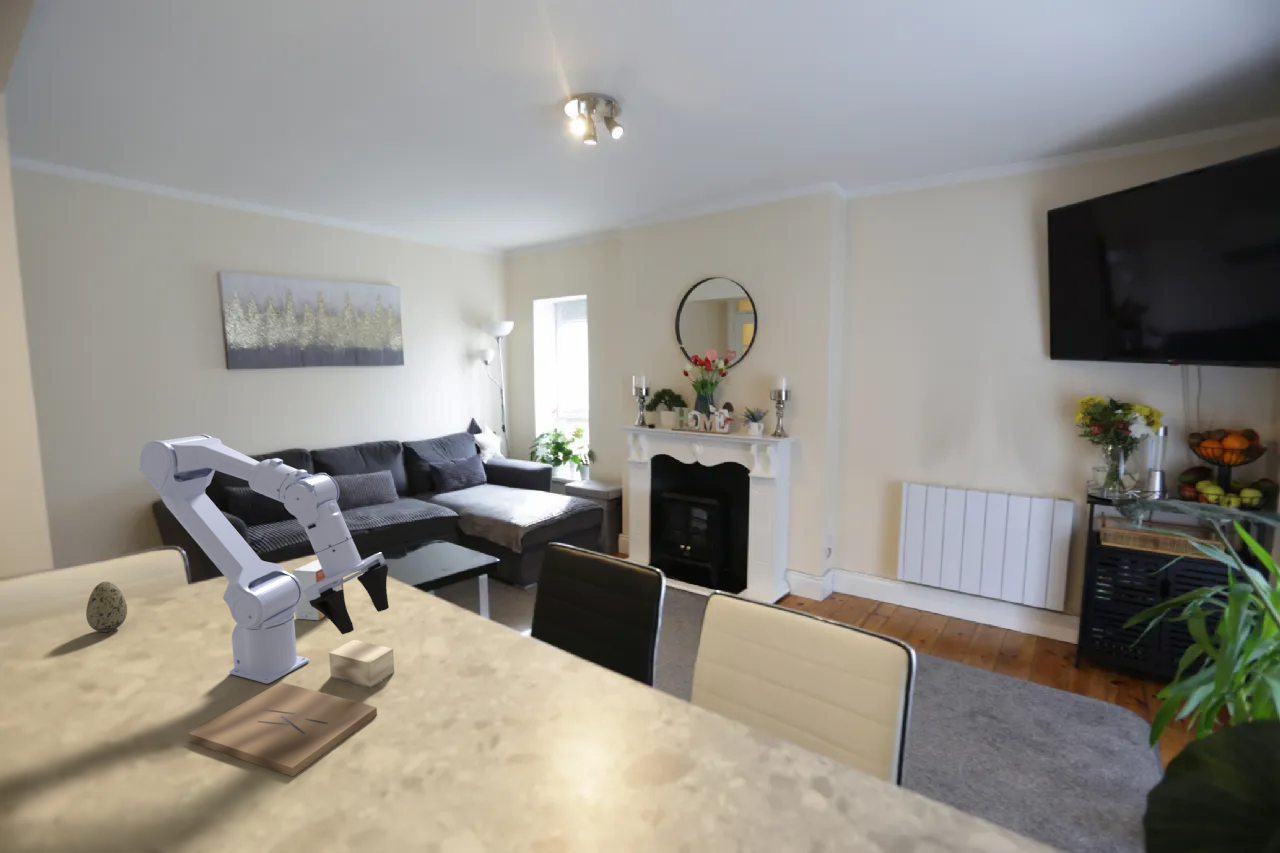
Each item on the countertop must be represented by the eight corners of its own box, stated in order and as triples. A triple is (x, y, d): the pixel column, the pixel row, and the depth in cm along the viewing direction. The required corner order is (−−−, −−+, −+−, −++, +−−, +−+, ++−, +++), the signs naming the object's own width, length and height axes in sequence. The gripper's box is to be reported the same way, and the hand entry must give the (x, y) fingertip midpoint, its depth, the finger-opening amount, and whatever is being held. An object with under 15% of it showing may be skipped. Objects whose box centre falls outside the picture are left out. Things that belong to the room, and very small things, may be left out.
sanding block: (330, 677, 99) (329, 652, 98) (355, 663, 104) (353, 639, 103) (371, 689, 96) (369, 662, 95) (394, 673, 100) (393, 648, 100)
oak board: (189, 741, 82) (188, 733, 82) (281, 688, 95) (280, 681, 95) (293, 776, 75) (292, 767, 75) (376, 714, 88) (376, 707, 88)
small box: (318, 621, 120) (315, 571, 119) (294, 619, 121) (291, 569, 120) (345, 605, 128) (342, 558, 126) (323, 603, 129) (320, 557, 127)
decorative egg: (88, 630, 116) (83, 581, 115) (128, 621, 120) (123, 574, 119) (88, 640, 112) (82, 590, 111) (129, 631, 116) (124, 582, 115)
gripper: (311, 556, 88) (347, 638, 89) (383, 524, 102) (414, 595, 102) (282, 567, 91) (317, 647, 92) (356, 534, 104) (386, 604, 105)
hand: (366, 620), depth 97 cm, fingers open, 7 cm apart
